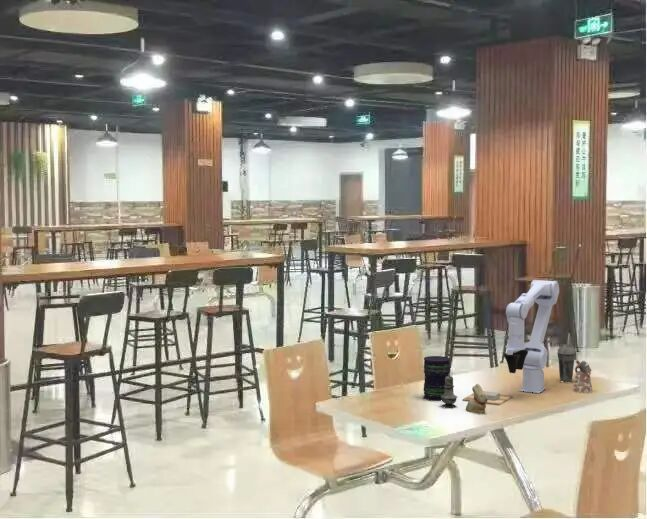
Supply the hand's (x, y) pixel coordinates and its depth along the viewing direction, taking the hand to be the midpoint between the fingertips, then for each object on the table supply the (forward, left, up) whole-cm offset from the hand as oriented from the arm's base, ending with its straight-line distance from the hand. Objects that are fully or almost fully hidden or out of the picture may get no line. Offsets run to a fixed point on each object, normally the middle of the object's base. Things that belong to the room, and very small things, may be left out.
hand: (515, 371), depth 309 cm
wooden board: (+8, -8, -10) cm, 15 cm away
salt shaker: (+26, -16, -10) cm, 32 cm away
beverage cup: (-37, +9, -10) cm, 39 cm away
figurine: (-23, +19, -10) cm, 32 cm away
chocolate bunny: (+28, -5, -10) cm, 30 cm away
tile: (+6, -8, -8) cm, 13 cm away
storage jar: (+16, -25, -10) cm, 31 cm away
